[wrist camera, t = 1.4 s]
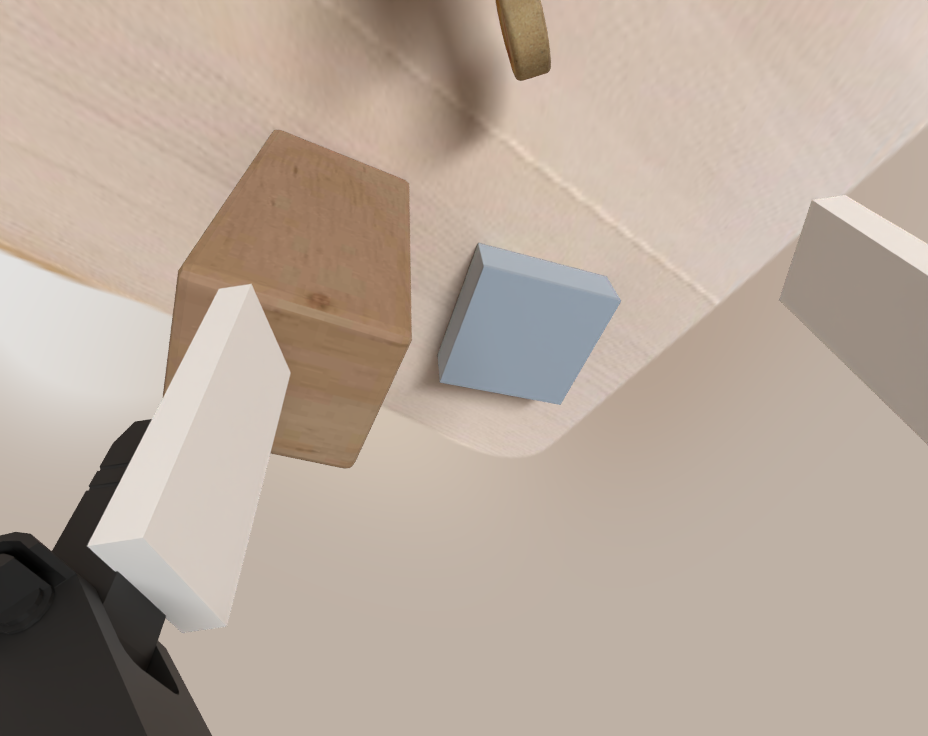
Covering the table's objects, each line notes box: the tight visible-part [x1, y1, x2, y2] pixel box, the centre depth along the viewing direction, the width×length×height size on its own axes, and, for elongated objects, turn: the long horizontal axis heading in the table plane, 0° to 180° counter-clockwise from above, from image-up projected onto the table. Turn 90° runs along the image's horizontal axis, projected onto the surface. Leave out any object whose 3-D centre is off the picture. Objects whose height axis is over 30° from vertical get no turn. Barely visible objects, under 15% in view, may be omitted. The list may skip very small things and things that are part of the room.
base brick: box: [438, 243, 621, 405], centre depth 46 cm, size 12×12×4 cm
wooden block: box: [163, 130, 412, 468], centre depth 32 cm, size 10×10×20 cm
